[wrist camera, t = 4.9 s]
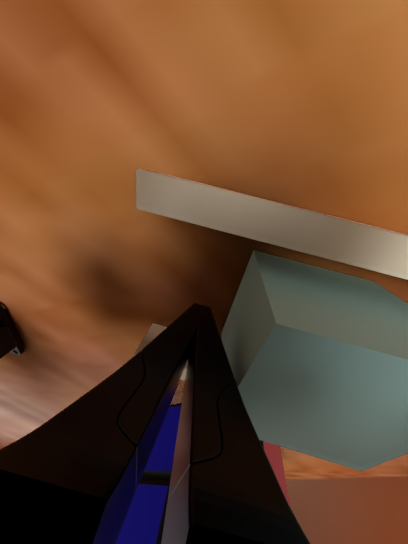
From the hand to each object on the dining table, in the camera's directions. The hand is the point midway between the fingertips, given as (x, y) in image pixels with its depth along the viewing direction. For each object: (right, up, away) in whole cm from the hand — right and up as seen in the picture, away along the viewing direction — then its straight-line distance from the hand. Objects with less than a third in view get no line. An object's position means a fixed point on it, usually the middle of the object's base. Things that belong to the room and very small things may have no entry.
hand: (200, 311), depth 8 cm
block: (+5, 0, +2) cm, 5 cm away
